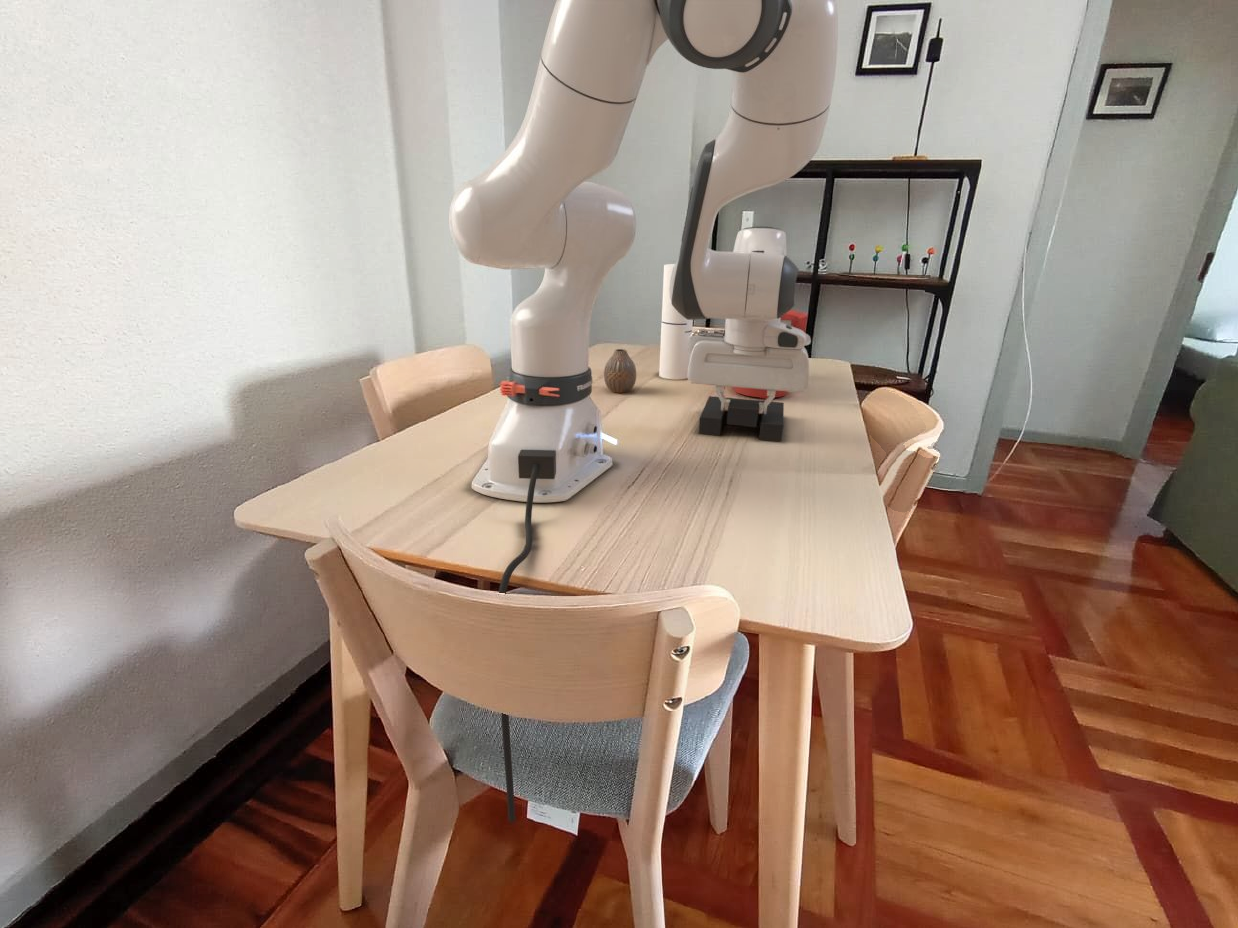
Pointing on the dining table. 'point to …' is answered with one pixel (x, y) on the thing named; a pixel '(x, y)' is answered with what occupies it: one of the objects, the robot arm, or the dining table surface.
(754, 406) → the small block
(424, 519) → the dining table surface
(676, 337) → the cylindrical container
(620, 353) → the vase
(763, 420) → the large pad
